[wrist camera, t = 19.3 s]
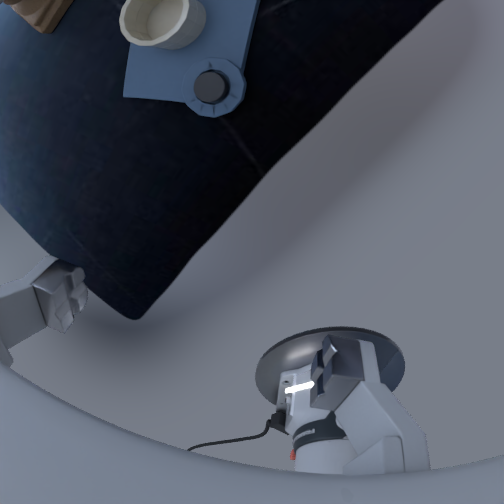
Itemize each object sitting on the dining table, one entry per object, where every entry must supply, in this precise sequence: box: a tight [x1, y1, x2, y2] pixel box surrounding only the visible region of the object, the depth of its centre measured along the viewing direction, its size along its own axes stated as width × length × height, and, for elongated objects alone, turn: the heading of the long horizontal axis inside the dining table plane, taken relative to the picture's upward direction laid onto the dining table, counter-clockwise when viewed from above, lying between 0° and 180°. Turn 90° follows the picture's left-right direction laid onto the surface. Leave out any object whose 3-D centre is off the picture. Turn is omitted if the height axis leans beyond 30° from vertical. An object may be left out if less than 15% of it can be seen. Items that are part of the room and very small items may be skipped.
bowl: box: [119, 0, 206, 50], centre depth 19 cm, size 6×6×5 cm
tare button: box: [194, 72, 228, 102], centre depth 23 cm, size 3×3×1 cm
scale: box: [123, 0, 260, 117], centre depth 23 cm, size 14×13×3 cm
